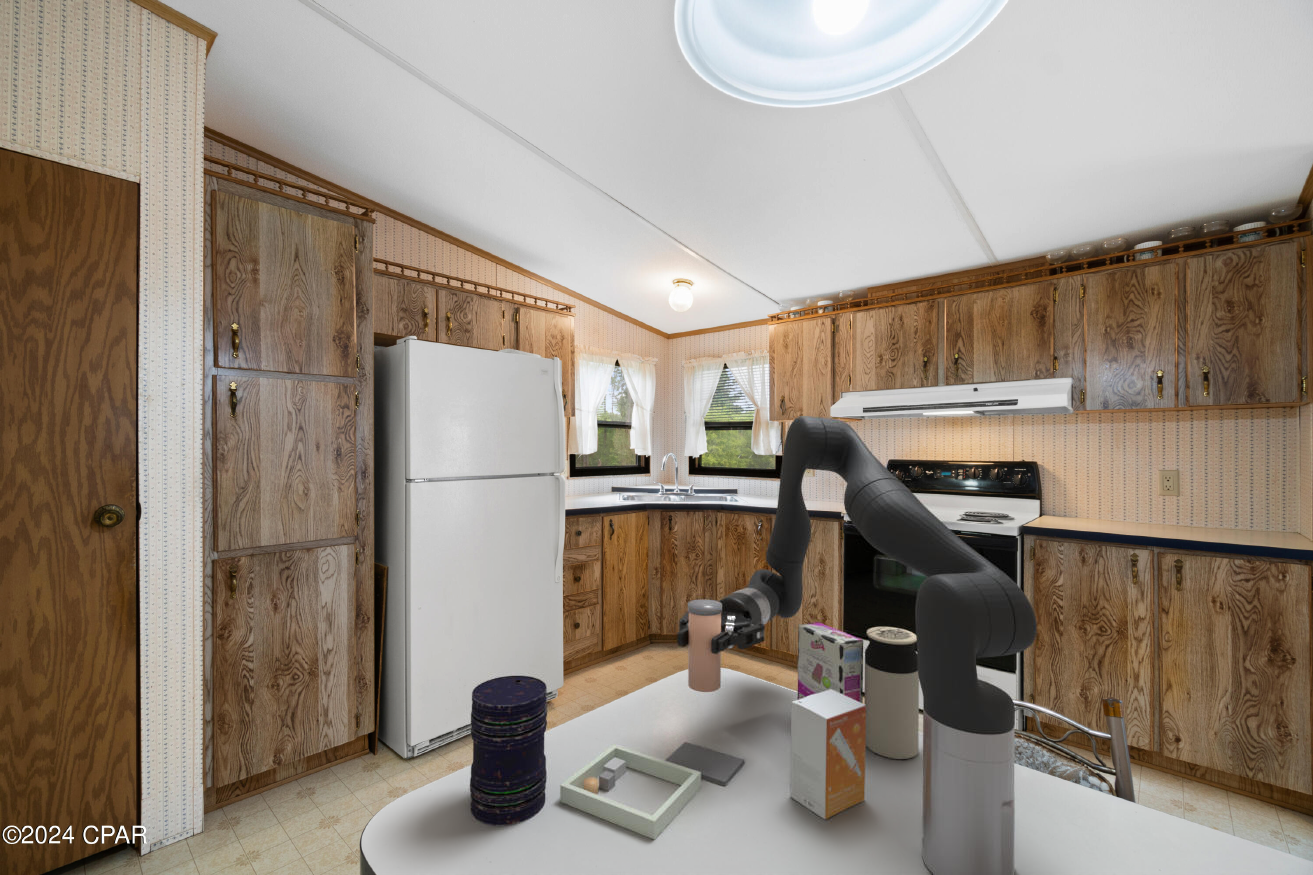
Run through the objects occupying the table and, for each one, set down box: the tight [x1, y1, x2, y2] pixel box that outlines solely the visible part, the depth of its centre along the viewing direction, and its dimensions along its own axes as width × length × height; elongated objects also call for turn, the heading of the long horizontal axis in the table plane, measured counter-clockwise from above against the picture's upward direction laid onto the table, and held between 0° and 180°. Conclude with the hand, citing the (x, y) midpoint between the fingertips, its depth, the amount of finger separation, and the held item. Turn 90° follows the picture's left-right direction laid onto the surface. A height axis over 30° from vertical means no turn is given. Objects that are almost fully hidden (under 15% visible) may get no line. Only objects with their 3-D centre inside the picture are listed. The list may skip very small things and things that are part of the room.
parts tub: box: [559, 743, 702, 840], centre depth 81 cm, size 15×13×2 cm
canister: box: [687, 598, 722, 693], centre depth 89 cm, size 5×5×12 cm
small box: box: [789, 689, 866, 820], centre depth 81 cm, size 8×6×13 cm
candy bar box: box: [796, 621, 864, 704], centre depth 101 cm, size 11×5×16 cm, turn 25°
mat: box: [665, 741, 745, 787], centre depth 89 cm, size 10×7×1 cm
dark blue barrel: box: [469, 675, 548, 827], centre depth 79 cm, size 10×10×15 cm
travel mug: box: [864, 626, 920, 760], centre depth 95 cm, size 8×8×18 cm
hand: (696, 643), depth 87 cm, fingers closed on canister, 4 cm apart
